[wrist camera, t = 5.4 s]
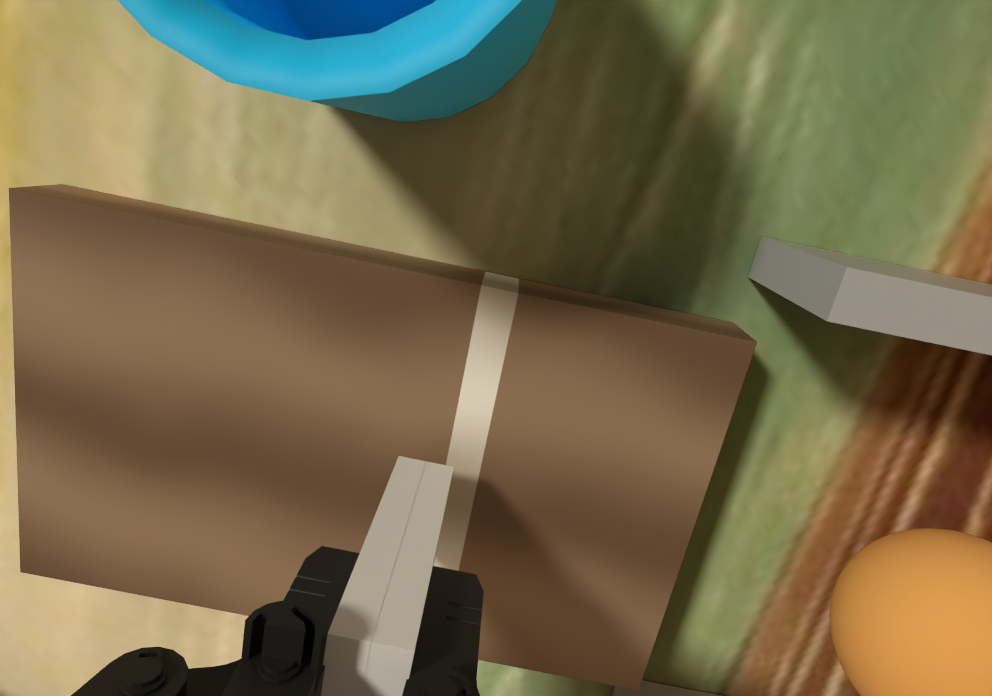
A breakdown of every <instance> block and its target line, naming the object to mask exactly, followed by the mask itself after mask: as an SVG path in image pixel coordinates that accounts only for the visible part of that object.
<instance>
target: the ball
mask: <svg viewBox="0 0 992 696" xmlns="http://www.w3.org/2000/svg"><path fill="white" fill-rule="evenodd" d="M830 628H831V636H832V640H833V644H834V647H835V651H836V654H837V656H838V659H839V661H840V663H841V666H842V668H843V670H844V671H845V673H846V675H847V677H848V678H849V680H850V682H851V684H852V685H853V686H854V688H855V689H856V690H857V692H858V693H859V694H860V696H992V542H990V541H987V540H985V539H982V538H979V537H976V536H973V535H969V534H966V533H963V532H958V531H953V530H947V529H931V528H922V529H911V530H906V531H900V532H895V533H892V534H889V535H887V536H884V537H881V538H879V539H877V540H875V541H873V542H872V543H870V544H868V545H867V546H865V547H864V548H863V549H861V550H860V551H859V552H858V553H856V554H855V555H854V556H853V557H852V559H851V560H850V561H849V562H848V563H847V564H846V566H845V567H844V568H843V570H842V572H841V574H840V575H839V578H838V580H837V582H836V584H835V587H834V590H833V594H832V598H831V604H830Z"/></svg>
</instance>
